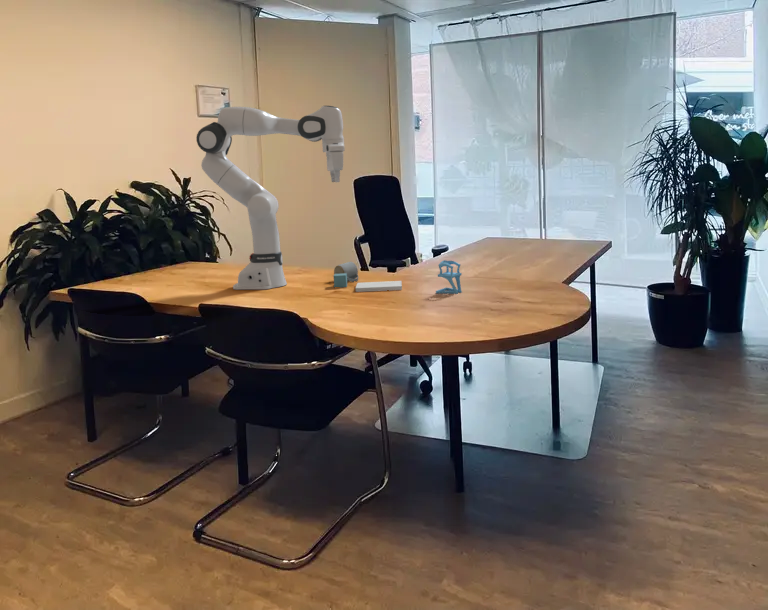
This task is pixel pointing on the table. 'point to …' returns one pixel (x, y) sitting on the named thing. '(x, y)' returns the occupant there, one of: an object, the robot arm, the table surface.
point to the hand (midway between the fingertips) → (335, 182)
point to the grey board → (379, 286)
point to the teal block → (340, 280)
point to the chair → (450, 277)
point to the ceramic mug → (348, 271)
